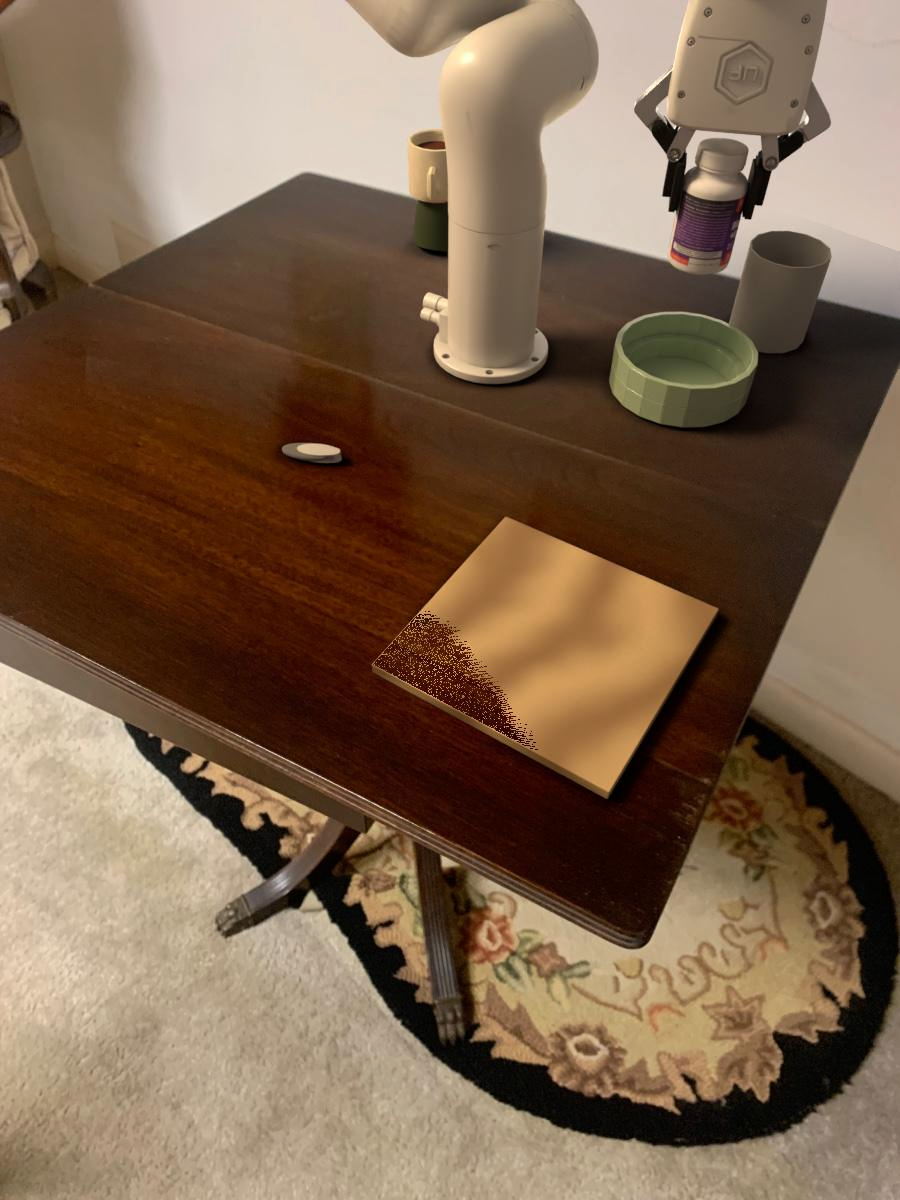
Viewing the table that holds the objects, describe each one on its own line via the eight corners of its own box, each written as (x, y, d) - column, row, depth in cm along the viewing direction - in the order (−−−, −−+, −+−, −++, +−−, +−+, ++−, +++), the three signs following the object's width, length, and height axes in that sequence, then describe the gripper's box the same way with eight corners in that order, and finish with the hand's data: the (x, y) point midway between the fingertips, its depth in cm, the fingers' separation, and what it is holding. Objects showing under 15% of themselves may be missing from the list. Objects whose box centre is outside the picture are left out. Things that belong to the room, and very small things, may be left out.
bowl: (585, 400, 92) (592, 358, 88) (643, 339, 100) (651, 298, 96) (715, 447, 87) (727, 405, 83) (764, 378, 95) (777, 337, 91)
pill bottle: (734, 277, 76) (765, 160, 69) (672, 277, 76) (697, 159, 69) (720, 247, 80) (748, 133, 73) (661, 247, 80) (683, 133, 73)
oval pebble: (278, 460, 86) (276, 451, 85) (289, 445, 87) (286, 436, 86) (336, 469, 84) (334, 459, 83) (345, 453, 85) (344, 444, 85)
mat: (372, 672, 68) (371, 664, 67) (505, 524, 79) (505, 515, 78) (607, 799, 61) (609, 792, 60) (716, 616, 72) (719, 608, 71)
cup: (804, 357, 98) (834, 271, 90) (728, 348, 99) (751, 263, 91) (800, 318, 103) (827, 234, 96) (728, 310, 104) (750, 227, 97)
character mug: (459, 267, 111) (461, 159, 101) (403, 263, 112) (400, 155, 102) (469, 228, 118) (471, 124, 109) (416, 224, 119) (414, 120, 109)
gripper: (640, -47, 60) (604, 218, 73) (905, -31, 58) (817, 239, 71) (646, -71, 65) (611, 181, 78) (890, -58, 63) (810, 199, 76)
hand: (709, 206), depth 75 cm, fingers closed on pill bottle, 5 cm apart
